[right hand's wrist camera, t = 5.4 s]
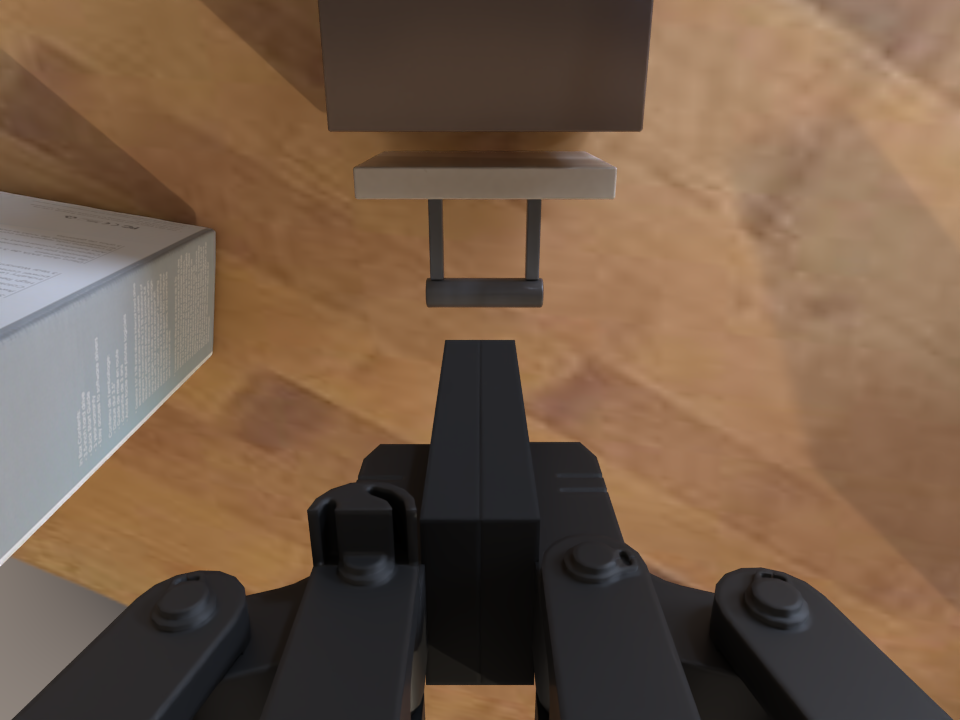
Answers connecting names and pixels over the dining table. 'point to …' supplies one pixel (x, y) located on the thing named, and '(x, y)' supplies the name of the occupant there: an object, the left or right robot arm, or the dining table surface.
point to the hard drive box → (89, 342)
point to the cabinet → (485, 65)
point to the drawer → (484, 180)
